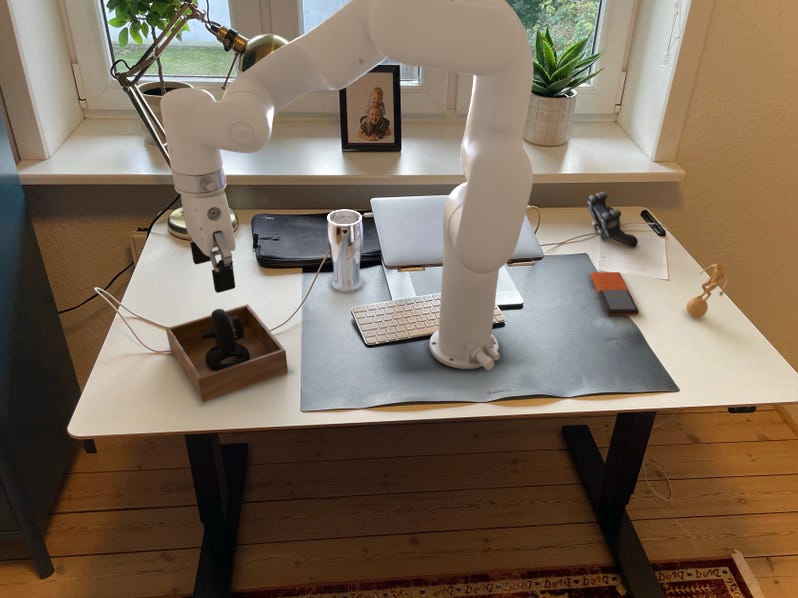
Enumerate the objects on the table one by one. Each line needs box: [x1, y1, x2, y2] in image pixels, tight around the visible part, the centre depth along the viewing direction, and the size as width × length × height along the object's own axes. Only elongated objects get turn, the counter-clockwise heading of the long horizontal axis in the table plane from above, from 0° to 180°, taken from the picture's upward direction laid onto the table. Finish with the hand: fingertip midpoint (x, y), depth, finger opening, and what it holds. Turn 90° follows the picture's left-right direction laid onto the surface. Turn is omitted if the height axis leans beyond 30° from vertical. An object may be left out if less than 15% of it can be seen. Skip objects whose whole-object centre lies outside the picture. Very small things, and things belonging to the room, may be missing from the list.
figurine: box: [685, 262, 730, 318], centre depth 145 cm, size 8×6×12 cm
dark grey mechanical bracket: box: [586, 191, 639, 249], centre depth 172 cm, size 16×7×10 cm, turn 10°
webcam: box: [201, 308, 250, 371], centre depth 128 cm, size 8×8×10 cm
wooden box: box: [165, 303, 289, 403], centre depth 129 cm, size 16×15×5 cm
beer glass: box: [326, 209, 364, 293], centre depth 148 cm, size 7×7×15 cm
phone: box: [589, 271, 640, 316], centre depth 152 cm, size 6×1×15 cm
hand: (214, 275), depth 121 cm, fingers open, 9 cm apart
